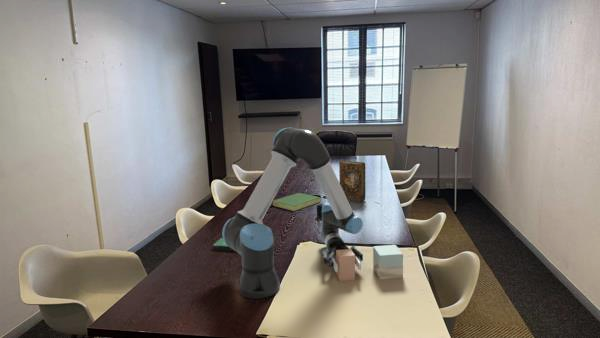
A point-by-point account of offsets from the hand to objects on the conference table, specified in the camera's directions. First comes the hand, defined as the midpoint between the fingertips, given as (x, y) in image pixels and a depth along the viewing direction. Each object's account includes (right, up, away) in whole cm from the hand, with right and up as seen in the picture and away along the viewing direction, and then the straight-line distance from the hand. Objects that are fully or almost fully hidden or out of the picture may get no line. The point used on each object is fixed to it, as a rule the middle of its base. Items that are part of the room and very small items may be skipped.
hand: (348, 267), depth 150 cm
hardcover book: (-21, +14, +104) cm, 107 cm away
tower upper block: (+16, +1, +7) cm, 17 cm away
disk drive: (-51, 0, +39) cm, 64 cm away
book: (+15, +17, +108) cm, 111 cm away
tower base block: (+16, -4, +8) cm, 19 cm away
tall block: (0, -5, +6) cm, 8 cm away
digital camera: (-3, +10, +80) cm, 80 cm away
